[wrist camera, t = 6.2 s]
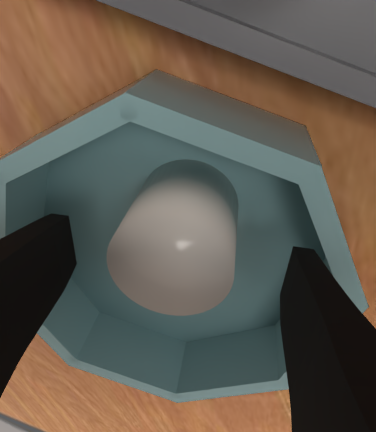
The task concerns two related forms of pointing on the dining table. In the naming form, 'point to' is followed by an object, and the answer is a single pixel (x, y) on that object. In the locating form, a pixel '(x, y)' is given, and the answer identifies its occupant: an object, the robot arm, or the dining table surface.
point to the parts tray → (282, 36)
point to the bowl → (122, 200)
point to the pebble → (178, 240)
